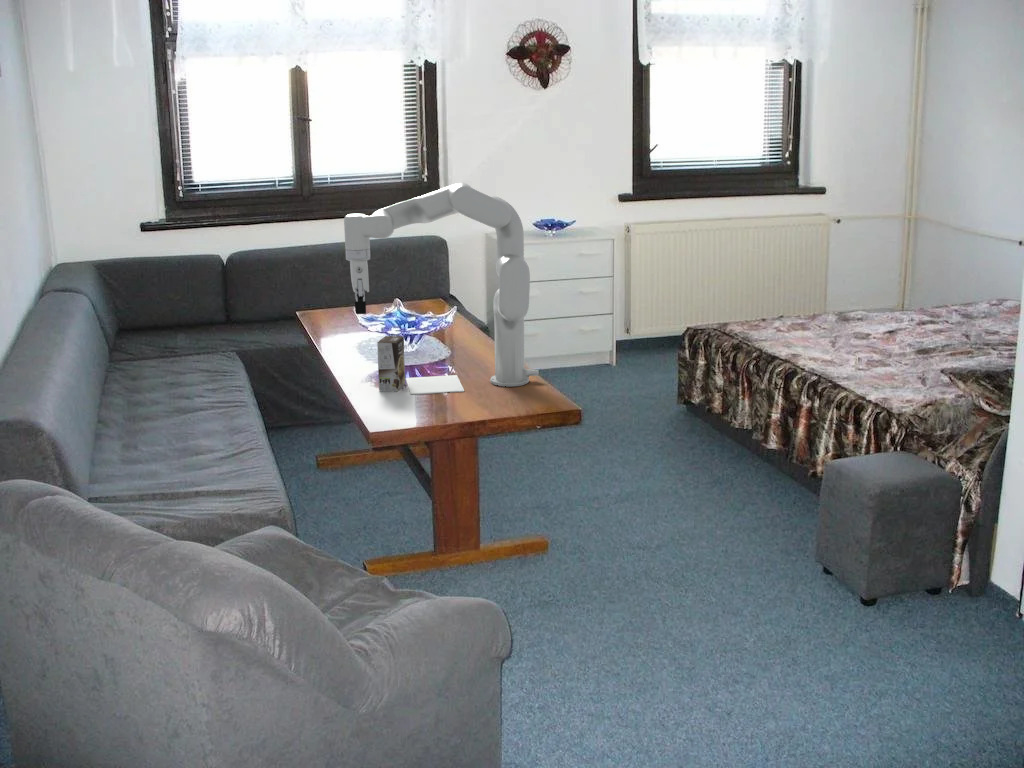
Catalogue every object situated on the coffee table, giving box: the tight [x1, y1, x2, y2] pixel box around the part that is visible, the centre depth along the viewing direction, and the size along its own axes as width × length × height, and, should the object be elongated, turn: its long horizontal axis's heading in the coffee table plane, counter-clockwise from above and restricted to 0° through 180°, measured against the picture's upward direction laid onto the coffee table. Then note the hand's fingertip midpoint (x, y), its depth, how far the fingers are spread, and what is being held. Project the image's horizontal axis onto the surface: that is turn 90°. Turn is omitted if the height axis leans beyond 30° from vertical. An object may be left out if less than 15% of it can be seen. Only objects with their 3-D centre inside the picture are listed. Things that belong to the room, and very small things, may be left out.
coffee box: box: [377, 335, 406, 393], centre depth 353 cm, size 9×6×16 cm
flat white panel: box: [405, 374, 465, 395], centre depth 357 cm, size 17×18×1 cm
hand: (360, 312), depth 347 cm, fingers closed
